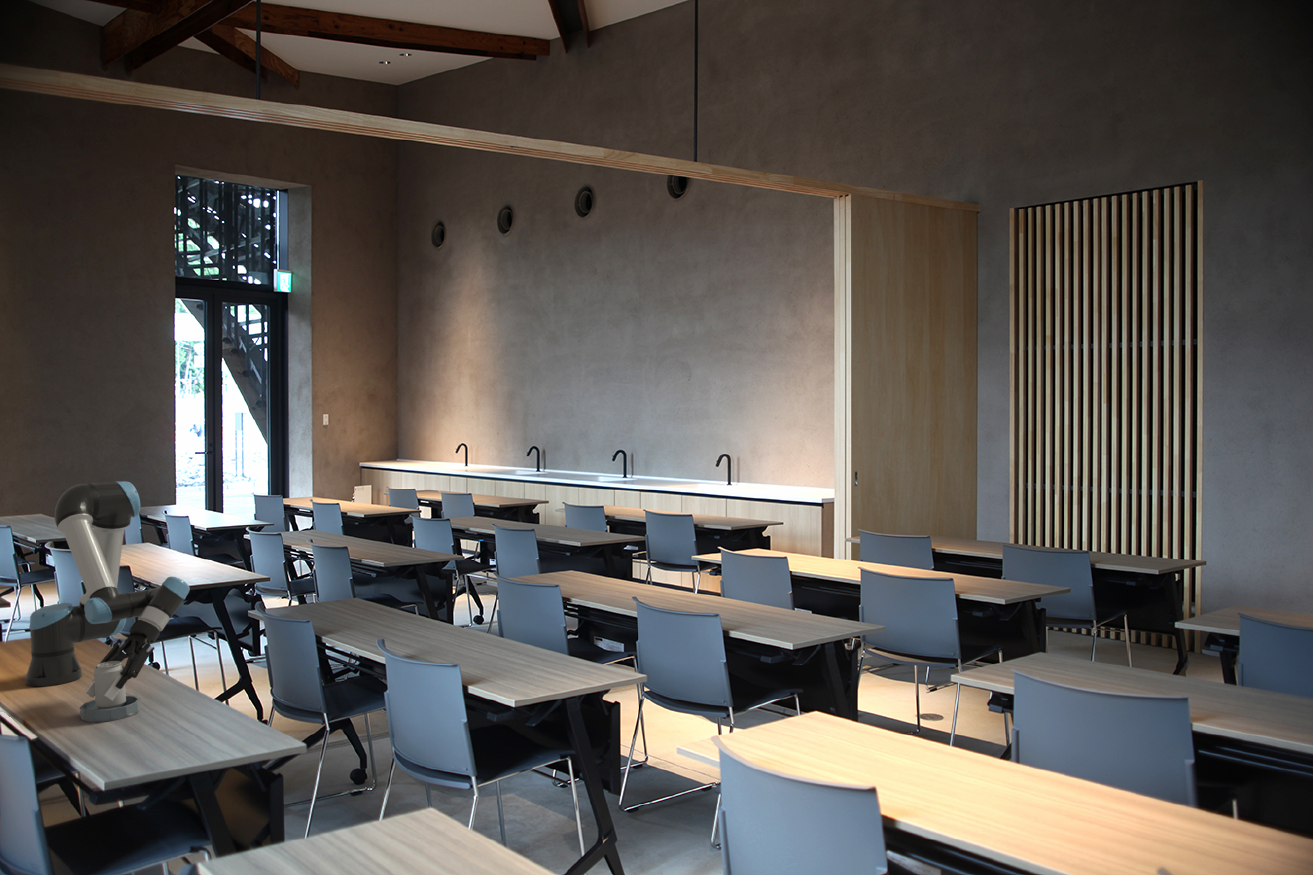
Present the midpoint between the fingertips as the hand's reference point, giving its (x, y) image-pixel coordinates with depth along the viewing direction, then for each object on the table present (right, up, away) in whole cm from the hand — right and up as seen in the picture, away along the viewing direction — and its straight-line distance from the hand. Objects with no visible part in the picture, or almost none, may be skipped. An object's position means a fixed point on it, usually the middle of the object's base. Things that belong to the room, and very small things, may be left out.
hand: (98, 696), depth 273 cm
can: (+2, -4, +3) cm, 5 cm away
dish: (+2, -6, +3) cm, 7 cm away
